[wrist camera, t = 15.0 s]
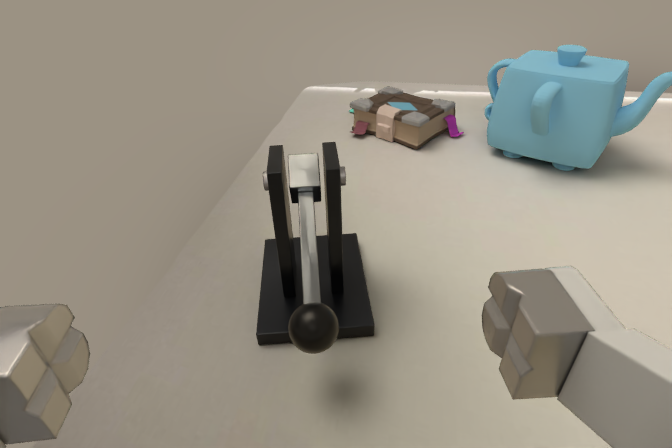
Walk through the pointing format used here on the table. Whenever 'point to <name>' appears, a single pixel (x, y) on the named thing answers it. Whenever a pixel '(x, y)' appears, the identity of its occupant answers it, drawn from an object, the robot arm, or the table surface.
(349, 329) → the switch bracket
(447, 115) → the book
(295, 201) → the lever
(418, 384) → the table surface
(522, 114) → the teapot
